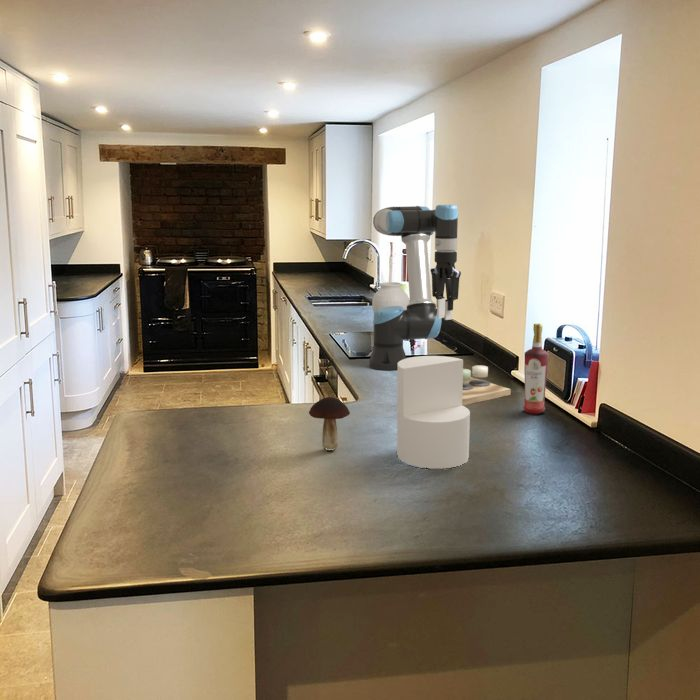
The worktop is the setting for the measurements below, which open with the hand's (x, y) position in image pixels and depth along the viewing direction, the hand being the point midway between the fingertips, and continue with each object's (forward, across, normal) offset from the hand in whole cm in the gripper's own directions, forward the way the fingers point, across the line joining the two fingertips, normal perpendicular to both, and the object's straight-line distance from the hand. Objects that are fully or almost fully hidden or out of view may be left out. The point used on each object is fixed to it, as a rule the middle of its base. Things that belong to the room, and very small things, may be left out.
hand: (444, 318), depth 250 cm
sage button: (+20, +10, 0) cm, 22 cm away
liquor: (+25, +39, +4) cm, 46 cm away
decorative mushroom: (+25, +32, -67) cm, 78 cm away
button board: (+25, +10, 0) cm, 27 cm away
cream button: (+20, +10, +8) cm, 23 cm away
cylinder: (+25, +51, -46) cm, 73 cm away
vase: (+25, -85, +39) cm, 97 cm away
